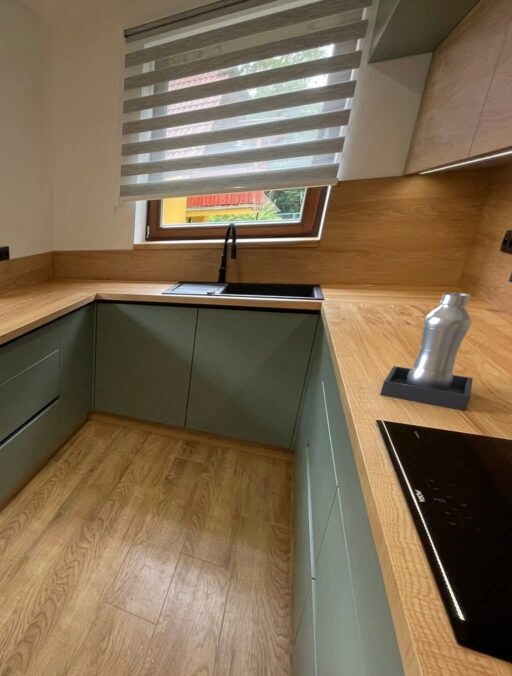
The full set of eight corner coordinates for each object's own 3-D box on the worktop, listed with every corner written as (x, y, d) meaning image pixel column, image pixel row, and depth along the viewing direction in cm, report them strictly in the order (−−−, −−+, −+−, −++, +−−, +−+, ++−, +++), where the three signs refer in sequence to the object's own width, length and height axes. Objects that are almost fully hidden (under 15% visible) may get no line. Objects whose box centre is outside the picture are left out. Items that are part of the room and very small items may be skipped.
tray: (465, 410, 81) (470, 396, 80) (380, 394, 89) (383, 381, 88) (467, 391, 89) (472, 377, 88) (389, 378, 98) (393, 365, 97)
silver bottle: (451, 398, 85) (487, 298, 78) (406, 392, 88) (436, 296, 81) (443, 388, 90) (476, 292, 83) (401, 383, 93) (429, 291, 86)
